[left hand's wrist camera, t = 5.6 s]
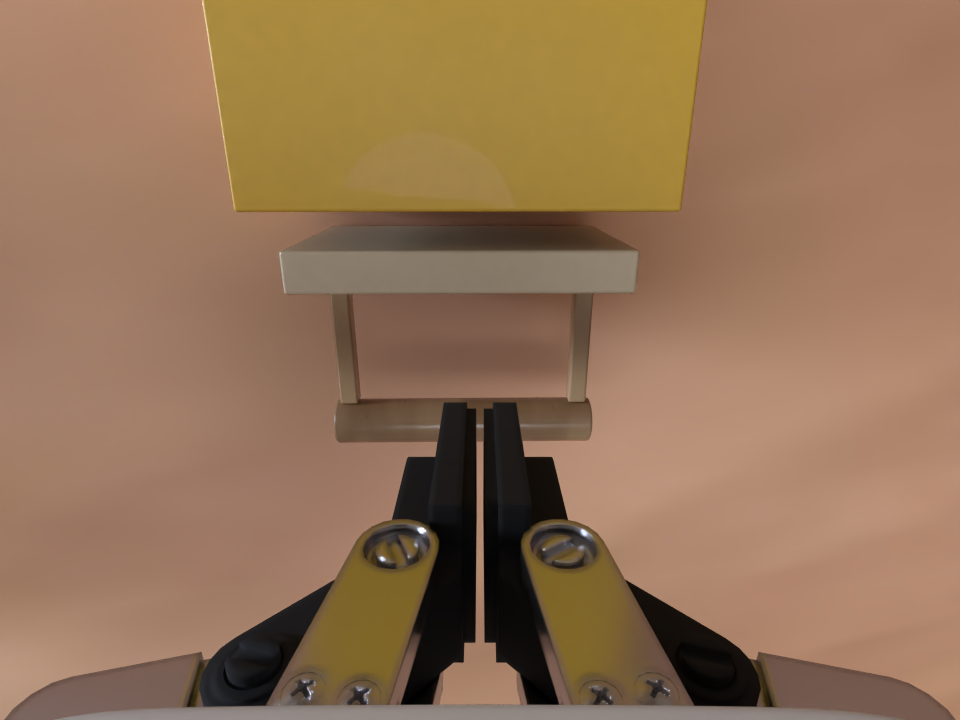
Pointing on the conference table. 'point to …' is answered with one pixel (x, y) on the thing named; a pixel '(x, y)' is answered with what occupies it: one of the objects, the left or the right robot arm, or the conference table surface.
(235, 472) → the conference table surface
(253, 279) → the conference table surface
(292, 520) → the conference table surface
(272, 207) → the cabinet
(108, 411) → the conference table surface
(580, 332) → the drawer
